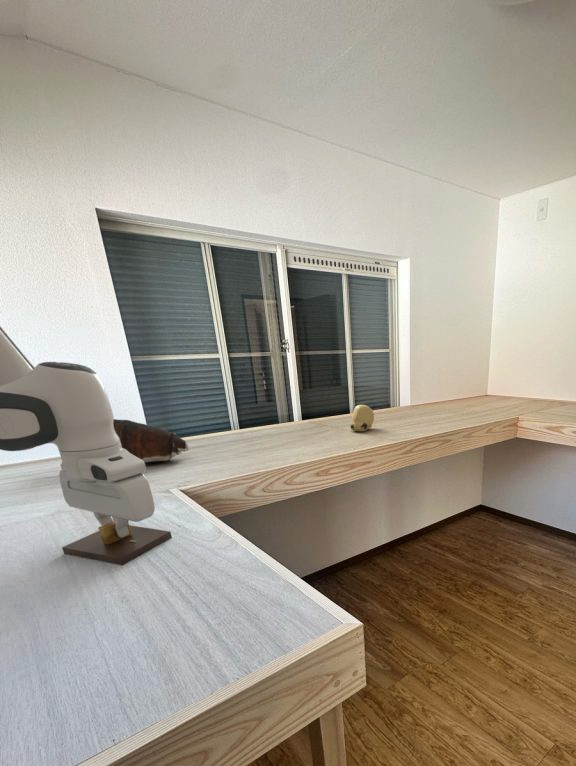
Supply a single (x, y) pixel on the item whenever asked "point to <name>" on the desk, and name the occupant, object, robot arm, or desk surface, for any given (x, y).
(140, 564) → the desk surface
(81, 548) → the plate
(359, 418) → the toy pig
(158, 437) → the brown tapered piece
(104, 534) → the lock turn
